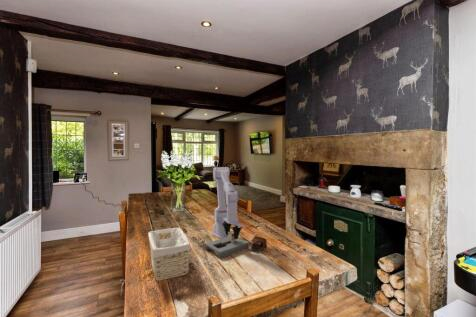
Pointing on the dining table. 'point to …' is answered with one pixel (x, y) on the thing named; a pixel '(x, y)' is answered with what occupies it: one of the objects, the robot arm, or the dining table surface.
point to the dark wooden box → (256, 245)
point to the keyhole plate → (227, 246)
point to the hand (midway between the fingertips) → (231, 236)
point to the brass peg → (231, 236)
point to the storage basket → (169, 253)
